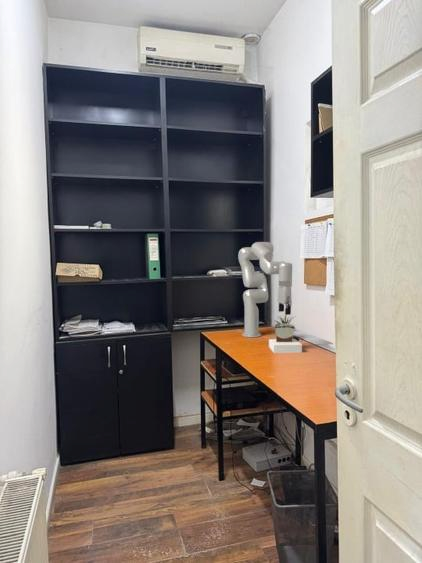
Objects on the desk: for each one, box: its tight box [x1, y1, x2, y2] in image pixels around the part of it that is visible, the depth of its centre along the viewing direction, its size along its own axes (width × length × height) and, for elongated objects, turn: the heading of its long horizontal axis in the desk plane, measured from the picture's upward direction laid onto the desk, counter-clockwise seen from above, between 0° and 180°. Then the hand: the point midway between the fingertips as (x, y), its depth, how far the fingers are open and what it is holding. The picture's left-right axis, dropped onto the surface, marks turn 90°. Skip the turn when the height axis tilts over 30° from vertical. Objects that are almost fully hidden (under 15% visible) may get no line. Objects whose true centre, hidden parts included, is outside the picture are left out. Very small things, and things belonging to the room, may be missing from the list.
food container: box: [273, 323, 296, 342], centre depth 225 cm, size 12×6×10 cm, turn 88°
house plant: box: [273, 314, 297, 326], centre depth 249 cm, size 14×14×16 cm
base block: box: [268, 338, 303, 354], centre depth 224 cm, size 14×16×5 cm
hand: (284, 313), depth 223 cm, fingers open, 9 cm apart
